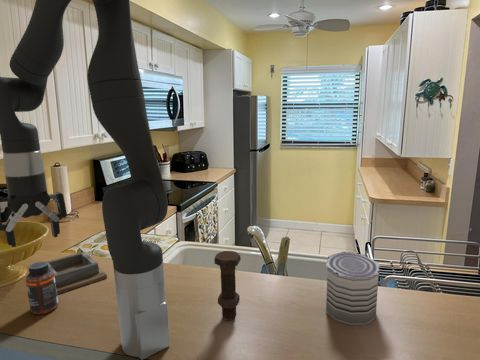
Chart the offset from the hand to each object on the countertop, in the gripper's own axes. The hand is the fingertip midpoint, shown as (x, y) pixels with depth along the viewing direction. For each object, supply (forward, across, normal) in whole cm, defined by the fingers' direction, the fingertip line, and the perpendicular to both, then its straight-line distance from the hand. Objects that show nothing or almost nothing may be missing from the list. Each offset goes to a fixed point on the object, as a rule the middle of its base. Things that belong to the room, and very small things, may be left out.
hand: (35, 240), depth 82 cm
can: (+17, +52, -50) cm, 74 cm away
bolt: (+17, +30, -33) cm, 48 cm away
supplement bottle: (+17, 0, 0) cm, 17 cm away
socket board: (+17, +10, +13) cm, 24 cm away
